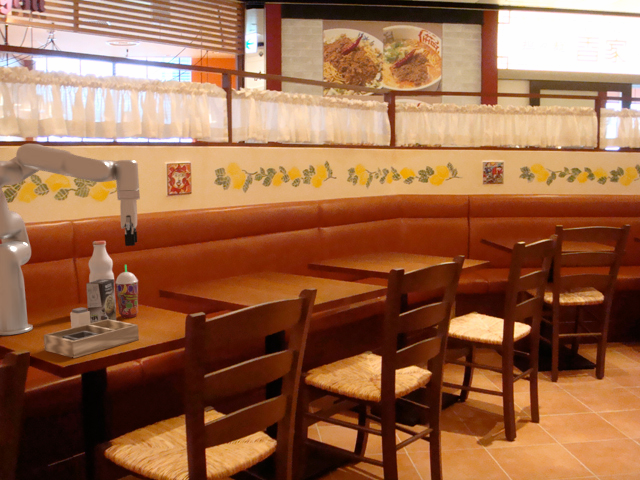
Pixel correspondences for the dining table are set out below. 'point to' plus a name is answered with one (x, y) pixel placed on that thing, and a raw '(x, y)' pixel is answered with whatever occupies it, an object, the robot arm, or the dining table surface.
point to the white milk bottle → (100, 263)
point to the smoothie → (127, 294)
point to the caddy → (90, 338)
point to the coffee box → (101, 300)
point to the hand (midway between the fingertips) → (131, 244)
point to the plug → (80, 317)
